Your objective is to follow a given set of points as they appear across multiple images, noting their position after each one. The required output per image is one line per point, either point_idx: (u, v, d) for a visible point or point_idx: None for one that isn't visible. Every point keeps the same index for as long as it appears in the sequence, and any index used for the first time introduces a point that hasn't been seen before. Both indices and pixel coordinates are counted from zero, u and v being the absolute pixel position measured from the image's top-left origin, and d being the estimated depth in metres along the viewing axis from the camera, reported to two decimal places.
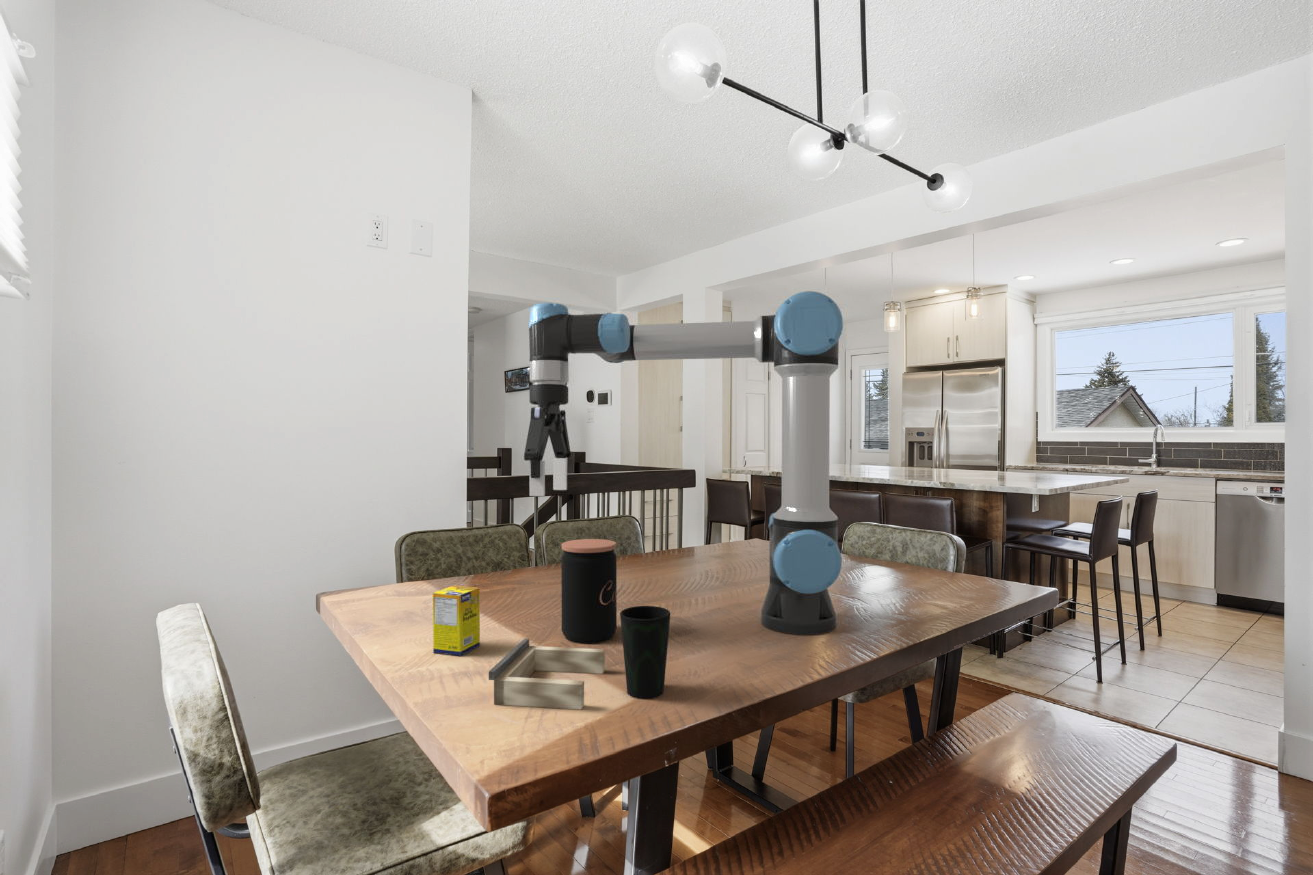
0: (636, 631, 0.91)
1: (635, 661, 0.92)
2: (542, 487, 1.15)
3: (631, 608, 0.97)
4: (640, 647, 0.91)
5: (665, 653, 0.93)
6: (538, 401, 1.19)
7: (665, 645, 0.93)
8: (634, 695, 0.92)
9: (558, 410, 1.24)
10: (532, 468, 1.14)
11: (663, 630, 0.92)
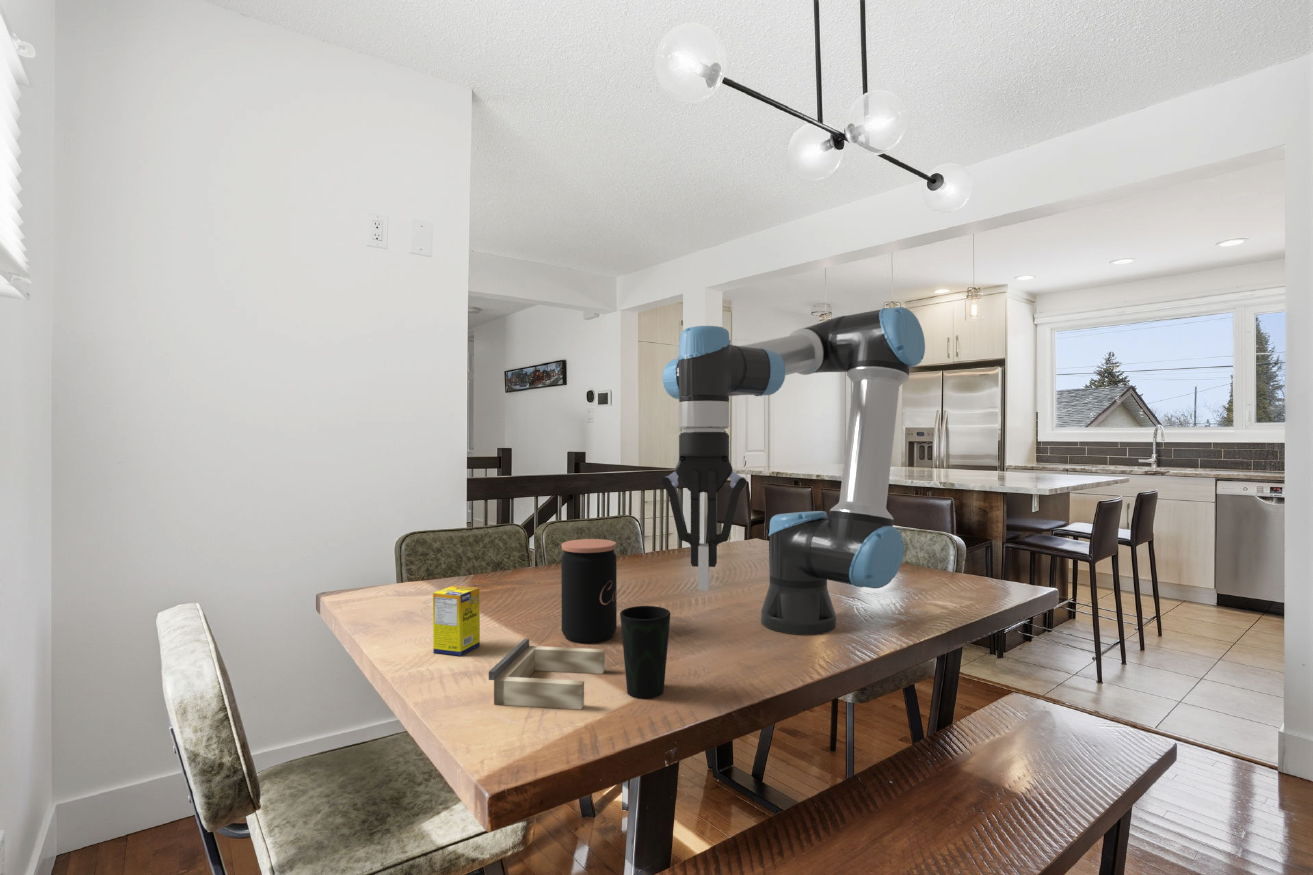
0: (636, 631, 0.91)
1: (635, 661, 0.92)
2: (698, 579, 0.92)
3: (631, 608, 0.97)
4: (640, 647, 0.91)
5: (665, 653, 0.93)
6: None
7: (665, 645, 0.93)
8: (634, 695, 0.92)
9: (720, 464, 0.92)
10: None
11: (663, 630, 0.92)
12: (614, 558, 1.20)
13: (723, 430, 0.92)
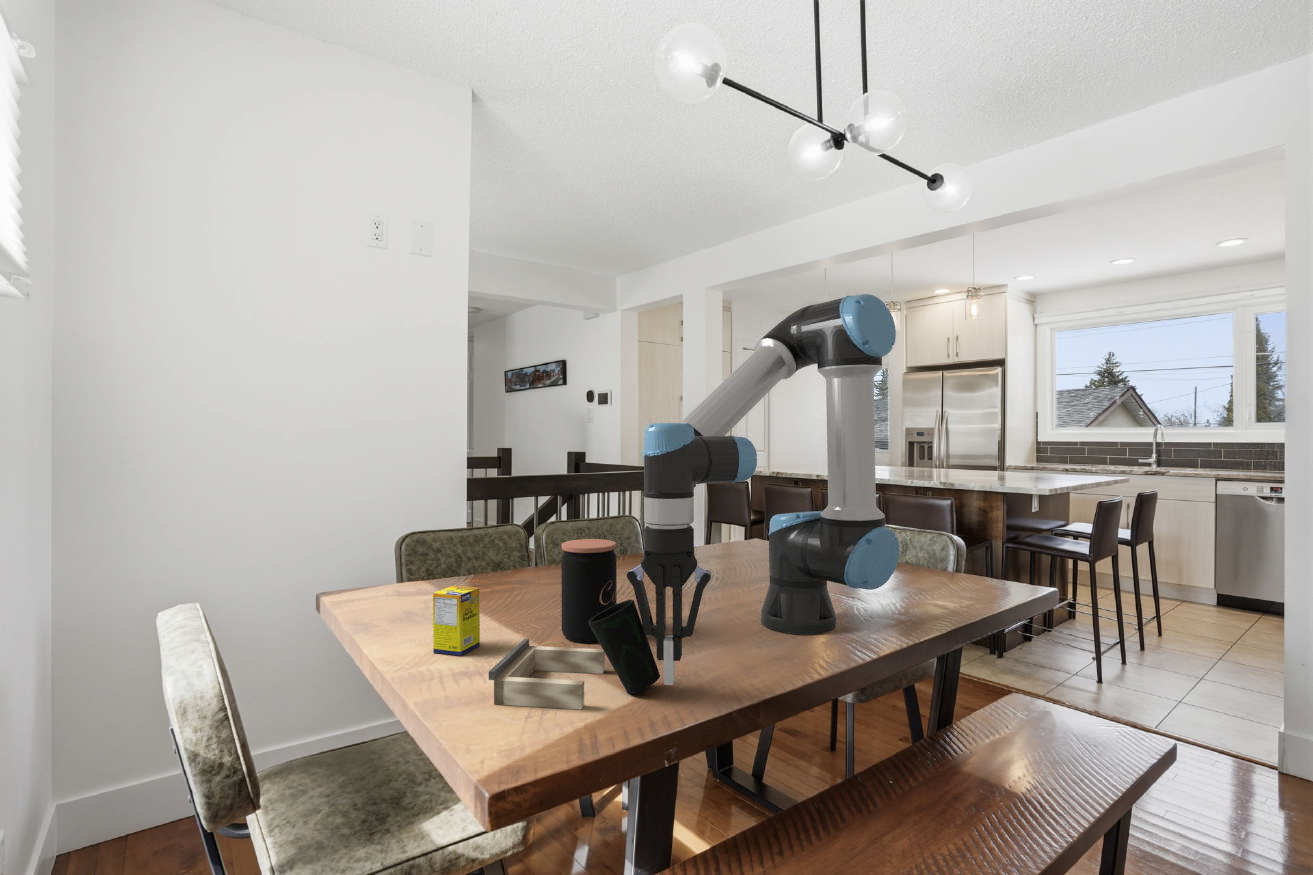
0: (606, 630, 0.92)
1: (618, 658, 0.92)
2: None
3: (599, 613, 0.98)
4: (616, 643, 0.92)
5: (644, 639, 0.94)
6: None
7: (640, 632, 0.94)
8: (632, 691, 0.92)
9: (684, 560, 0.93)
10: None
11: (631, 618, 0.93)
12: (614, 558, 1.20)
13: (687, 525, 0.93)
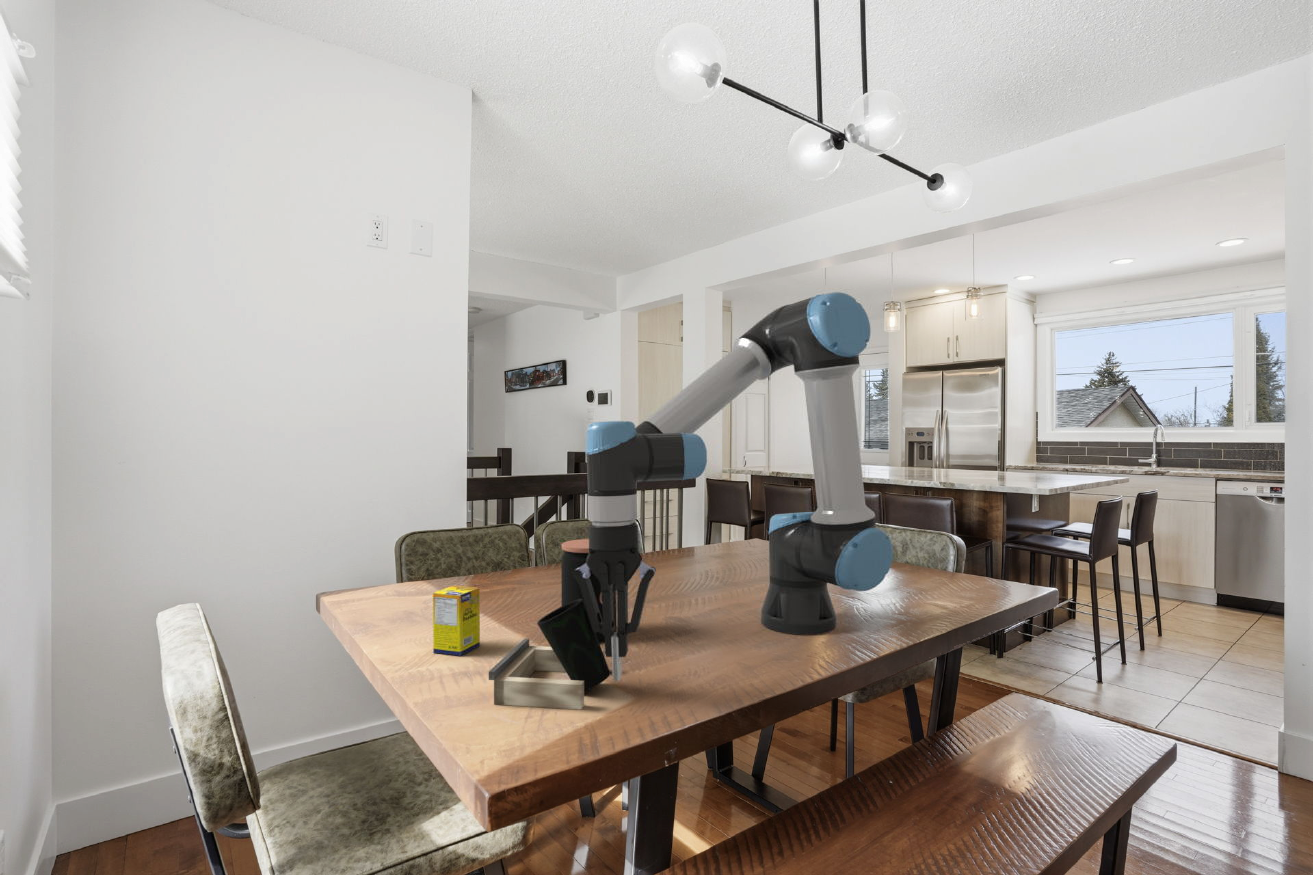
0: (554, 630, 0.92)
1: (567, 657, 0.93)
2: None
3: (550, 614, 0.98)
4: (565, 643, 0.92)
5: (593, 638, 0.94)
6: None
7: (589, 630, 0.94)
8: None
9: (628, 556, 0.94)
10: None
11: (579, 617, 0.94)
12: None
13: (630, 522, 0.94)
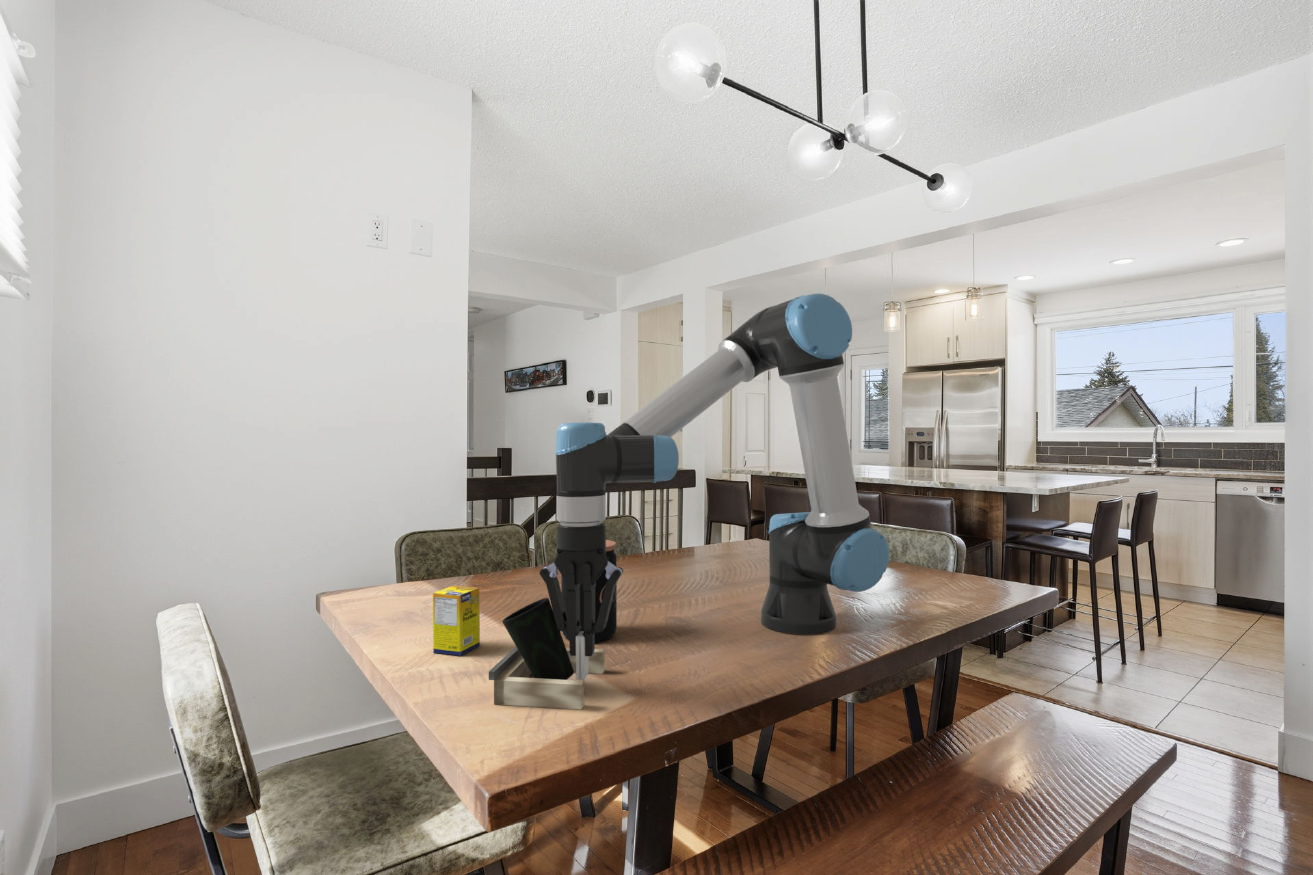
0: (518, 628, 0.93)
1: (530, 656, 0.93)
2: None
3: (516, 612, 0.99)
4: (528, 641, 0.93)
5: (557, 637, 0.95)
6: None
7: (554, 629, 0.95)
8: None
9: (595, 557, 0.94)
10: None
11: (544, 616, 0.94)
12: (614, 558, 1.20)
13: (598, 523, 0.94)
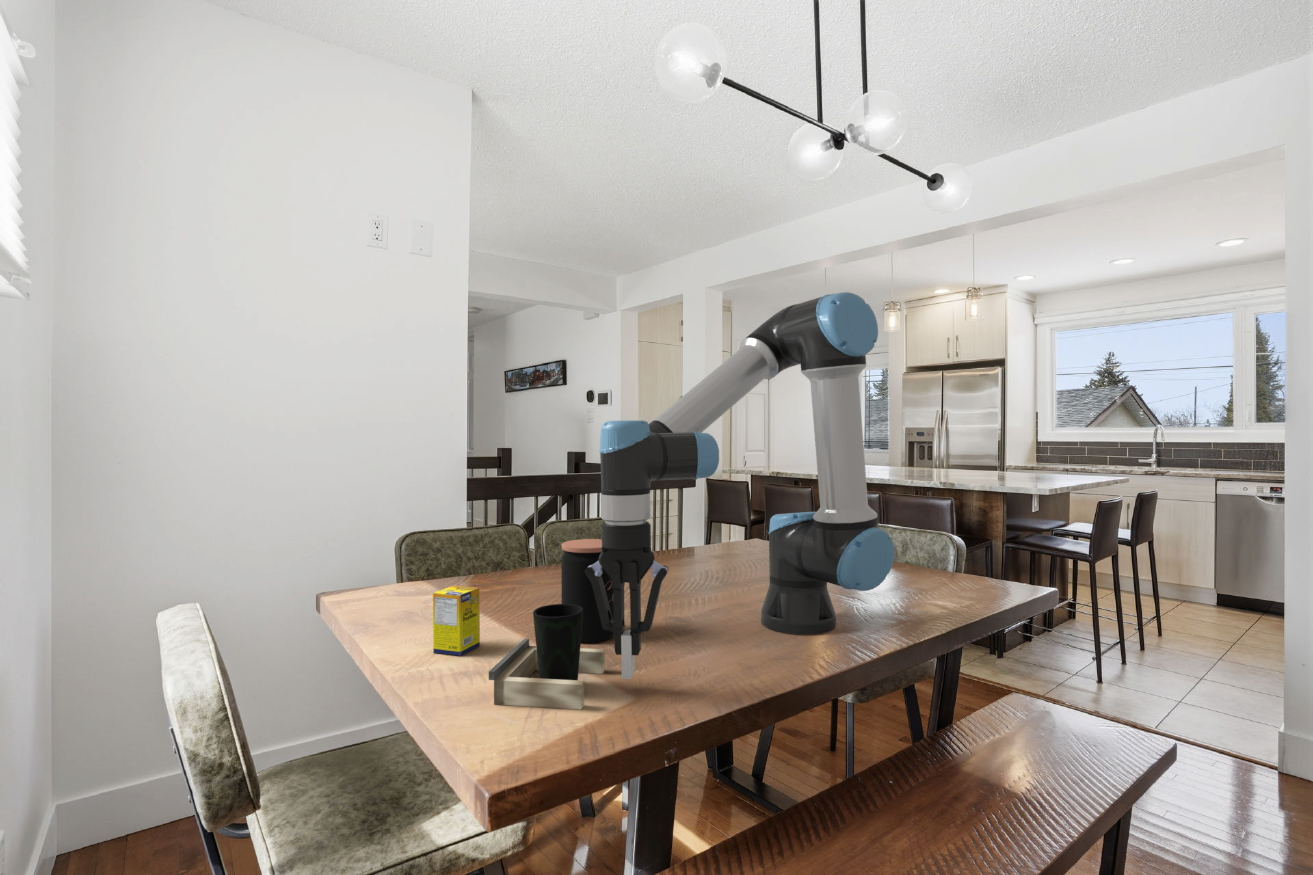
0: (547, 629, 0.92)
1: (546, 658, 0.93)
2: None
3: (546, 606, 0.99)
4: (551, 644, 0.93)
5: (577, 650, 0.95)
6: None
7: (577, 642, 0.94)
8: None
9: (641, 555, 0.94)
10: None
11: (574, 627, 0.94)
12: None
13: (643, 522, 0.94)
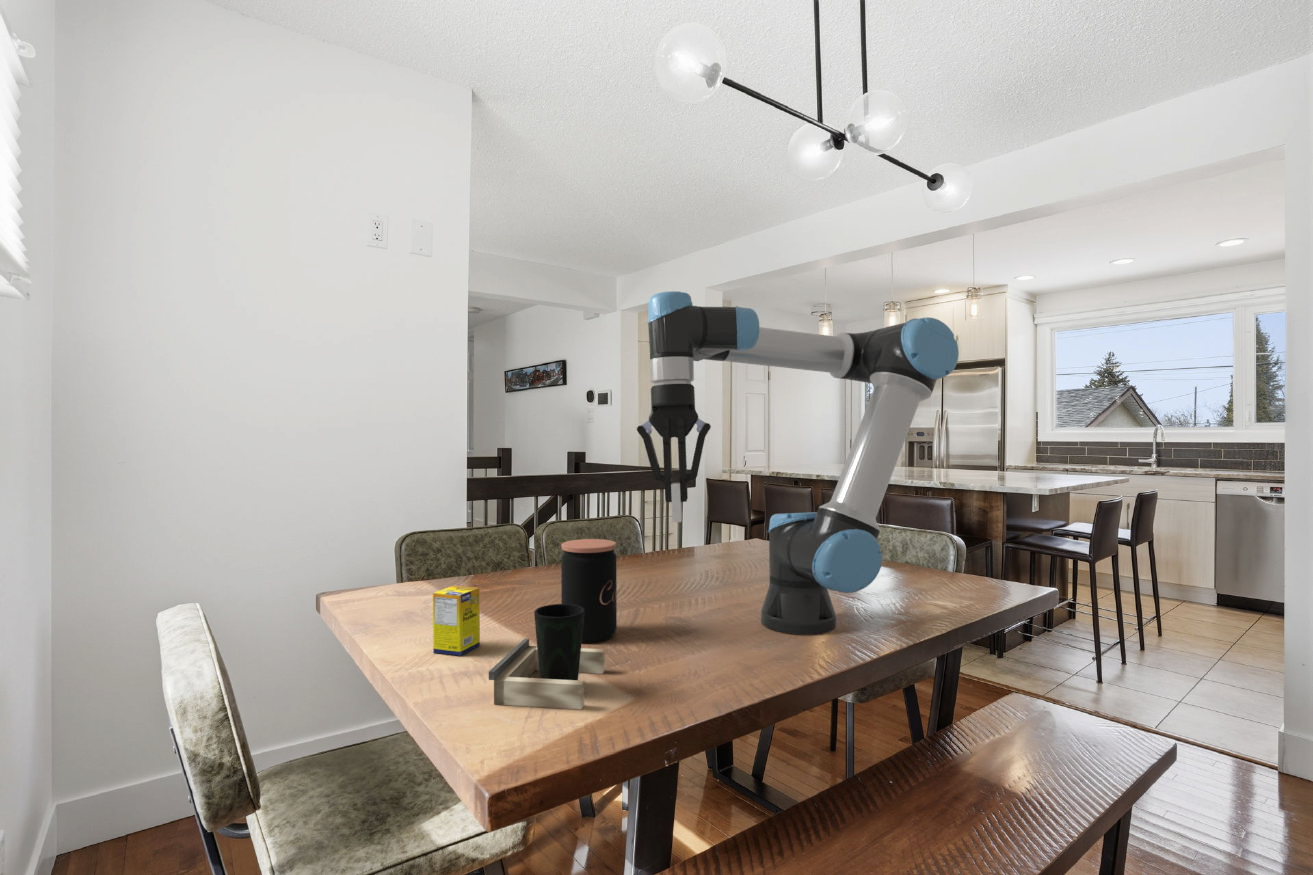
0: (548, 629, 0.92)
1: (547, 658, 0.93)
2: (672, 512, 1.06)
3: (548, 606, 0.99)
4: (552, 644, 0.92)
5: (578, 651, 0.95)
6: None
7: (578, 643, 0.94)
8: None
9: (687, 412, 1.06)
10: None
11: (575, 628, 0.94)
12: (614, 558, 1.20)
13: (689, 382, 1.06)
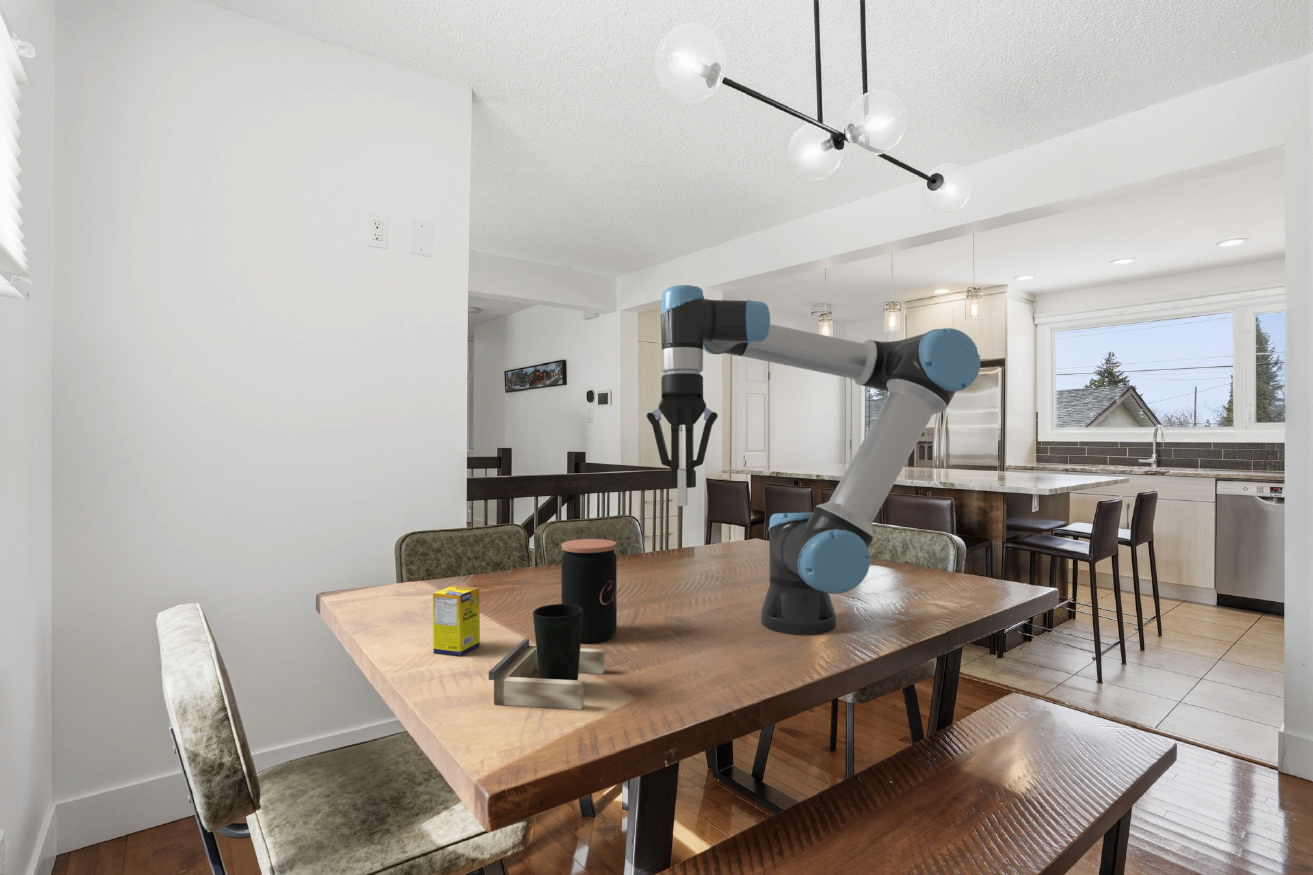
0: (546, 629, 0.92)
1: (546, 658, 0.93)
2: None
3: (546, 606, 0.98)
4: (551, 645, 0.92)
5: (577, 650, 0.95)
6: None
7: (577, 642, 0.94)
8: None
9: (695, 401, 1.11)
10: None
11: (574, 628, 0.94)
12: (614, 558, 1.20)
13: (698, 372, 1.10)
